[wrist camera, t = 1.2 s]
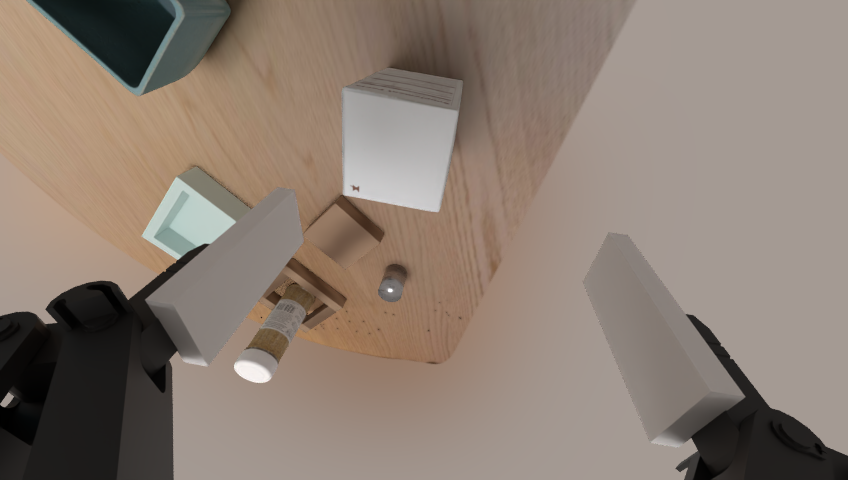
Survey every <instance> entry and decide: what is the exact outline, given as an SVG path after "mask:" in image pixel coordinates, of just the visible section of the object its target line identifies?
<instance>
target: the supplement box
mask: <svg viewBox="0 0 848 480" xmlns="http://www.w3.org/2000/svg"><path fill="white" fill-rule="evenodd" d="M462 88H463V80H457V79H451V78H445V77H439V76H434V75H428V74H423V73H417V72H411V71H406V70H400V69H394V68H386V69H384V70H381V71H379V72H377V73H374V74H372V75H370V76H368V77H366V78H364V79H362V80H360V81H358V82H355V83H353V84H351V85H348V86H345V87H343V89H342V155H343V195H345V196H351V197H357V198H362V199H368V200H373V201H378V202H383V203H389V204H394V205H399V206H405V207H410V208H416V209H421V210H426V211H432V212H439V210H440V207H441V203H442V199H443V195H444V190H445V186H446V182H447V177H448V173H449V168H450V163H451V158H452V153H453V147H454V142H455V136H456V130H457V123H458V116H459V109H460V103H461V96H462Z"/></svg>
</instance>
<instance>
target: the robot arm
mask: <svg viewBox="0 0 848 480" xmlns="http://www.w3.org/2000/svg"><path fill="white" fill-rule="evenodd" d="M303 242H304V239H303V234H302V228H301V222H300V217H299V211H298V205H297V200H296V194H295V189H287V188H280V187H277V188H276V189H275V190H274V191H272V192H271V193H270V194H269V195H268V196H266V197H265V198H264V199H263V200H262V201H261V202H259V203H258V204H257V205H256V206H255V207H253V208H252V209H251V210H250V211H249V212H248V213H246V214H245V215H244V216H243V217H242V218H241V219H239V220H238V221H237V222H236V223H235V224H233V225H232V226H231V227H230V228H229V229H228V230H226V231H225V232H224V233H223V234H222V235H221V236H219V237H218V238H217V239H216V240H215V241H213V242H212V243H211V244H206V243H205V244H202V245H200V246H198V247H196V248H194V249H192V250H190V251H188V252H187V253H186V254H185V255H183V256H182V257H181V258H180V259H178V260H177V261H176V263H173V264H172V265H171V266H170V267H169V268H167V269H166V272H162V273H161V274H160V275H159V276H157V277H156V278H155V279H154V280H152V281H151V282H150V283H149V284H148V285H146V286H145V287H144V288H143V289H142V290H140V291H139V292H138V293H137V294H135V295H134V296H133V297H132V298H130V299H129V300H127V298H126V297H125V295H124V294H123V292H122V291H121V289H120V288H119V286H118V285H117V284H115V283H113V282H111V281H97V282H90V283H86V284H83V285H80V286H77V287H74V288H72V289H70V290H68V291H66V292H64V293H62V294H60V295H59V296H58V297H56V298H55V299H54V300H52V301H51V302H50V304H49V305H48V306H47V308H46V311H47V312H48V313H49V314H50V315H51V316H52V317H53V318H54V319H55V320H56V321H57V323H53V324H44V323H43V321H42V320H41V319H40V318H39V317H38V316H37V315H36V314H34V313H30V312H15V313H11V314H7V315H3V316H0V403H1V402H2V400H3V399H4V398H5V396H6V395H7V393H8V392H9V393H10V394H12V395H13V396H14V398H13V399H12V401H11V402H10V403H9V404H8V405H7V406H6V407H2V406H1V405H0V480H173V404H172V366H171V363H170V361H169V359H170V358H171V357H172V356H173V355H174V354H175V353H176V351H178V353H179V354H180V356H181V357H182V359H183V361H184V362H186V363H192V364H197V365H203V366H209V365H210V363H211V362H212V361H213V359H214V358H215V357H216V355H217V354H218V353H219V351H220V350H221V349H222V348H223V346H224V345H225V344H226V342H227V341H228V340H229V338H230V337H231V336H232V335H233V333H234V332H235V331H236V329H237V328H238V327H239V325H240V324H241V323H242V322H243V320H244V319H245V318H246V316H247V315H248V314H249V312H250V311H251V310H252V309H253V307H254V306H255V305H256V303H257V302H258V301H259V299H260V298H261V297H262V296H263V294H264V293H265V292H266V290H267V289H268V288H269V286H270V285H271V284H272V282H273V281H274V280H275V279H276V277H277V276H278V275H279V273H280V272H281V271H282V269H283V268H284V267H285V266H286V264H287V263H288V262H289V260H290V259H291V258H292V256H293V255H294V254H295V252H296V251H297V250H298V249H299V247H300V246H301V245H302V243H303ZM583 284H584V286H585V289H586V291H587V293H588V296H589V298H590V301H591V303H592V305H593V308H594V310H595V313H596V315H597V317H598V320H599V322H600V325H601V327H602V329H603V331H604V334H605V336H606V339H607V341H608V344H609V346H610V348H611V351H612V353H613V356H614V358H615V360H616V363H617V365H618V367H619V370H620V372H621V374H622V376H623V379H624V382H625V384H626V386H627V389H628V391H629V394H630V396H631V398H632V401H633V403H634V405H635V408H636V410H637V413H638V415H639V417H640V420H641V422H642V424H643V427H644V429H645V432H646V434H647V436H648V439H649V441H650V443H655V444H661V445H667V446H672V447H680V446H681V445H682V444H684V443H685V442H686V441H688V440H689V439H690V438H692V440H693V442H694V444H695V445H696V447H697V449H698V451H697V452H696V453H695V454H693V455H691V456H690V457H688V458H687V459H686V460H684V461H683V462H681V463H680V464H679V465H678V466H677V467H676V469H677V470H678V471H679V472H681V471H682V470H684V469H685V468H688V470H687V473H686V476H685V479H684V480H848V456H847V455H845V454H842V453H840V452H837V451H835V450H833V449H830V448H828V447H825V445H824V444H823V443H822V441H821V440H820V439H819V438H818V437H817V436H816V435H815V434H814V433H813V432H812V431H811V430H810V429H808V427H806V426H805V425H803V424H802V423H800V422H799V421H798V420H796V419H795V418H793V417H791V416H789V415H787V414H785V413H783V412H781V411H779V410H775V409H771V408H770V407H769V406H768V404H767V403H766V402H765V401H764V399H763V398H762V397H761V395H760V394H759V393H758V391H757V390H756V389H755V388H754V386H753V385H752V384H751V382H750V381H749V380H748V378H747V377H746V376H745V374H744V373H743V372H742V371H741V369H740V368H739V367H738V366H737V364H736V363H735V361H734V360H733V359H730V355H729V354H728V352H727V351H726V350H725V348H724V347H722V346H721V343H720V342H719V341H718V339H717V338H716V337H715V335H714V334H713V333H712V332H711V330H710V329H709V328H708V327H707V326H705V325H704V324H703V323H702V322H701V321H699V320H698V319H697V318H696V317H695V316H693V315H688V314H685V313H684V311H683V310H682V309H681V307H680V306H679V305H678V303H677V302H676V300H675V299H674V298H673V296H672V295H671V294H670V292H669V291H668V289H667V288H666V287H665V286H664V284H663V283H662V281H661V280H660V278H659V277H658V276H657V274H656V273H655V271H654V270H653V269H652V267H651V266H650V265H649V263H648V262H647V260H646V259H645V258H644V256H643V255H642V254H641V252H640V251H639V249H638V248H637V247H636V245H635V244H634V243H633V241H632V240H631V239H630V237H629V236H628V235H623V234H617V233H608V235H607V237H606V238H605V240H604V242H603V244H602V246H601V248H600V250H599V252H598V254H597V256H596V258H595V260H594V261H593V263H592V265H591V267H590V269H589V271H588V273H587V275H586V277H585V279H584V281H583Z"/></svg>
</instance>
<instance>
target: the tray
mask: <svg viewBox="0 0 848 480" xmlns="http://www.w3.org/2000/svg"><path fill="white" fill-rule="evenodd" d="M250 210H251V209H250V208H249V207H248V206H247V205H245V204H244V203H243V202H242V201H240V200H239V199H238V198H236V197H235V196H234V195H233V194H231V193H230V192H229V191H228V190H226V189H225V188H224V187H222V186H221V185H220V184H219V183H217V182H216V181H215V180H214V179H212V178H211V177H210V176H208V175H207V174H206V173H205V172H203V171H202V170H201V169H200V168H198V167H197V166H196V167H194V168H192V169H190V170H188V171H186V172H184V173H182V174H180V175H178V176H177V177H176V178H175V180H174V182H173V183H172V185H171V187H170V188H169V190H168V192H167V194H166V195H165V197H164V199H163V200H162V202H161V204H160V206H159V207H158V209H157V211H156V212H155V214H154V216H153V218H152V219H151V221H150V223H149V224H148V226H147V228H146V230H145V231H144V233H143V235H142V237H144V238H145V239H147V240H148V241H150V242H151V243H153V244H154V245H156V246H157V247H159V248H160V249H162V250H163V251H165V252H166V253H168V254H169V255H171V256H173V257H174V258H176V259H177V260H178V259H180V258H181V257H182V256H183V255H185V254H186V253H187V252H188V251H190V250H192V249H194V248H196V247H198V246H200V245H202V244H205V243H206V244H211V243H212V242H213V241H215V240H216V239H217V238H218V237H219V236H221V235H222V234H223V233H224V232H225V231H226V230H228V229H229V228H230V227H231V226H232V225H233V224H235V223H236V222H237V221H238V220H239V219H241V218H242V217H243V216H244V215H245V214H246V213H248V212H249V211H250Z"/></svg>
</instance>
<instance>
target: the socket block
mask: <svg viewBox="0 0 848 480" xmlns="http://www.w3.org/2000/svg"><path fill="white" fill-rule="evenodd" d="M288 278H291V279H292V280H294V281H295V282H296V283H298V284H299V285H300V286H302V287H303V288H304V289H306V290H307V291H309V292H310V293H311V294H313V295H314V296H315V297H317V298H318V299H319V300H321V301H322V302H323V303H325V304H323V305H322V306H320V307H319V308H318V309H316V310H315V311H313V312H312V313H311V314H309V315H306V316H305V318H304V320H303V321H302V323H301V325H300V327H299V329H300V330H302V331H303V332H305V333H306V332H307V331H309V330H310V329H312V328H313V327H315V326H316V325H318V324H319V323H321V322H322V321H324V320H325V319H327V318H328V317H330V316H331V315H333V314H334V313H336V312H337V311H339V310H340V309H342V308H343V306H344V303H345V301H346V298H344V297H343V296H342V295H340V294H339V293H338V292H337V291H335V290H334V289H333V288H331V287H330V286H329V285H327V284H326V283H325V282H323V281H322V280H321V279H320V278H318V277H317V276H316V275H314V274H313V273H312V272H310V271H309V270H308V269H306V268H305V267H304V266H303V265H301V264H300V263H299V262H297V261H296V260H295V259H293V258H291V259H290V260H289V262H288V263H287V264H286V266H285V267H284V268H283V269H282V271H281V272H280V273H279V275H278V276H277V277H276V279H275V280H274V281H273V282H272V284H271V285H270V286H269V288H268V289H267V290H266V292H265V293H264V294H263V296H262V297H261V298H260V299H259V302H260V303H262V304H263V305H265V306H266V307H268V308H269V309H271V310H273V309H274V307H275V306H276V305H277V303H278V302H279V301H280V299H281V298H282V297H281V296H279V295H278V294H276V293H275V292H274V290H275V289H277V288H278V287H279V286H280V285H281V284H282V283H283V282H285V281H286V280H287V279H288Z"/></svg>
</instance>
